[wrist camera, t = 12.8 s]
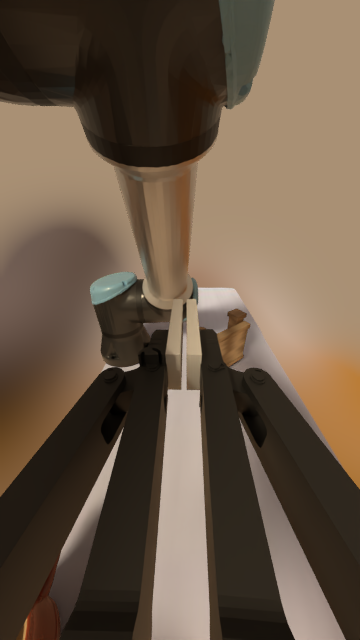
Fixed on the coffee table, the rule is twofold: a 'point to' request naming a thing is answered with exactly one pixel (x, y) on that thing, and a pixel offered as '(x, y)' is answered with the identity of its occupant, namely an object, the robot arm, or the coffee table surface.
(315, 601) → the coffee table surface
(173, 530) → the coffee table surface
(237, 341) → the gate
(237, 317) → the latch post
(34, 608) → the mug
